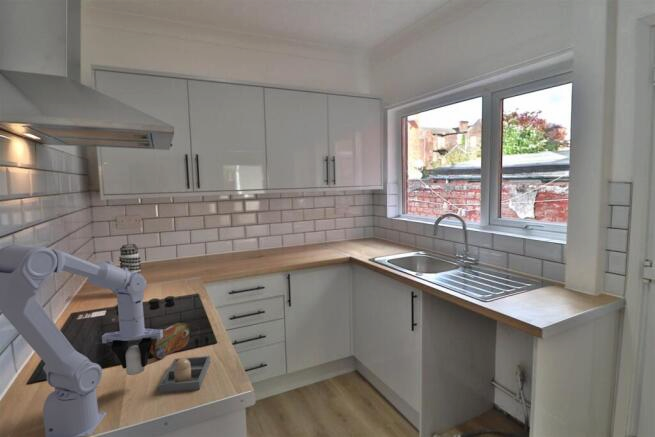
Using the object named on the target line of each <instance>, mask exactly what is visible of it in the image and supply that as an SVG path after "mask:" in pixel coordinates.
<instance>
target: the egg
mask: <svg viewBox="0 0 655 437" xmlns="http://www.w3.org/2000/svg"><path fill="white" fill-rule="evenodd" d="M125 357H126V368H125V369H126V374H127V375H129V376H135V375H136V376H137V375H139V374H141V373H143V372H144V371H145V367H146V366H145V367H142V364H141V353H140V350H139V347H138V344H137V345H131V346H130V347H128V350H127V351H126V354H125Z"/></svg>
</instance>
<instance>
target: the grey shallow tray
mask: <svg viewBox="0 0 655 437" xmlns="http://www.w3.org/2000/svg"><path fill="white" fill-rule="evenodd" d="M182 358H183V357H180V358H174V359H173V361H172V362H171V364H170V366H169V367H168V368H167V371H166V373H165V374H164V376H163V378H162V379H161V380H160V382H159V384H158V392H159V394H162V393H163V394H164V393H176V392H184V391H185V392H186V391H196V390H198V391H199V390H201V387H202V385H203V382H204V380H205V377H206V375H207V373H208V369H209V367H210V365H211V356H210V355H205V356H194V357H193V356H192V357H184V358H185V359H188V360H189V361H190V364H191V378H192V381H188V382H176V383H175V376H174V365H175V363H176V361H178V360H179V359H182Z"/></svg>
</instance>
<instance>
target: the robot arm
mask: <svg viewBox="0 0 655 437" xmlns="http://www.w3.org/2000/svg"><path fill="white" fill-rule="evenodd" d="M61 271H62V272H66V273H68V274H69V273H70V274H74V275H77V276H81V277H84V278H87V279H88V280H87V281H88V283H89V284H90V285H92V286H95V287H99V288H102V289H105V290H106V289H107V290H109V291H112V293H114V294H116V302H117V312H118V313H117V314H118V323H119V324H118V325H119V326H118V327H119V331H112V332H105V333H104V334H103V335H101V341H102V342H101V343H102V344H107V343H109V342H110V343H111V342H112V344H111V345H110V349H111V351H113V352H114V354H115V355H116V356H117V358H118V360H119V362H120V364H121V367H122V369H126V357H125V354H126V351H127V350H128V349H129V342H130V341H138V340H141V341H140V342H139V343H138V344H137V346H138V347H139V350H140V353H141V364H142V367H146V366H147V365H148V363H149V362H148V361H149V355H150V353H151V351H150V348H151V345H152V343H153V341H154V339H156V338H157V339H161V338H162V337H163V330H164V329H156V328H155V329H154V328H145V316H144V305H143V304H144V303H143V299H144V297H145V294H144V293H145V292H144V291H145V290H146V287H147V280H146V279H145V278H144V275H143V274H141V272H140V273H135V272H129V271H128V268H120V267H119V266H116V265H114V262H113V261H110V260H106V261H100V262H97V263H92V262H90V261H87V260H84V259H83V258H79V257H78V256H75V255H73V254H69V253H67V252H65V251H62V250H58V249H51V248H49V247H46V246H24V245H22V246H21V245H18V244H10V245H9V244H8V245H5V246H3V247H1V248H0V312H1V314H2V315H3V316H4V317H5V318H6V319H7V320H8V322H9V323H10V324H11V325H12V326H13V328H14V329H15V330H16V331H17V332H18V333H19V335H20V336H21V337H22V338H23V339H24V341H25V342H26V343H27V344H28V345H29V347H30V348H31V349H33V351H34V352H35V353H36V355H38V356H39V358H40V359H41V360H42V362H43V363H44V365H43V367H42V370H43V371H44V372H45V375H46V381H47V384H48V385H49V386H50V387H52V388H54V391H52V392H51V393H49V394H48V396H47V397H46V398H45V401H44V403H43V407H42V415H43V416H42V417H43V426H44V432H45V433H44V435H45V437H89V436H91V435H92V434H93V433H94V431H95V429H96V428H97V427H98V425H100V423H101V421H102V420H103V419H104V417H105V416H106V414H108V413H107V411H101V412H99V408H98V407H99V406H98V398H97V397H98V396H97V389H98V385H99V384H100V383H101V379H102V377H103V369H102V367H101V365H100V364H98V363H95V362H92V361H91V360H90V359H89V357H87V356H86V355H84V354H82V353H80V352H78V350H76V349H75V348H74V347H73V345H72V344H71V343H70V342H69V340H68V339H67V337H66V336H65V335H64V334H63V332H62V331H61V330H60V329H59V327H58V326H57V324H56V323H55V322H54V321H53V320H52V318H51V317H50V316H49V314H48V312H47V311H46V310H45V309H44V307H42V305H41V303H40V302H39V301H38V299H36V296H37V294H38V293H39V291H40V290H41V289H42V288H43V287H44V285H45V284H46V283H47V282H48V280H49V279H50V277H51V276H52V274H54V273H57V274H58V273H60V272H61Z"/></svg>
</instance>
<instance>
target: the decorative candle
mask: <svg viewBox="0 0 655 437" xmlns="http://www.w3.org/2000/svg"><path fill="white" fill-rule="evenodd" d="M119 250H120V256H119V260H118V261H119V262H120V263H119V266H120V267H119V268H128V271H129V272H135V273H140V274H141V271H142V270H141V269H142V268H141V264H140V263H141V262H142V261H141V260H140V259H141V257H140V256H139V246H138V245H136V244H135V243H127V244H123V245H122V246H121V247H120V248H119Z"/></svg>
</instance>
